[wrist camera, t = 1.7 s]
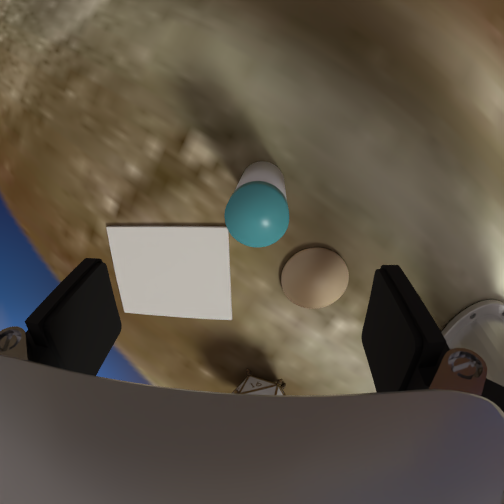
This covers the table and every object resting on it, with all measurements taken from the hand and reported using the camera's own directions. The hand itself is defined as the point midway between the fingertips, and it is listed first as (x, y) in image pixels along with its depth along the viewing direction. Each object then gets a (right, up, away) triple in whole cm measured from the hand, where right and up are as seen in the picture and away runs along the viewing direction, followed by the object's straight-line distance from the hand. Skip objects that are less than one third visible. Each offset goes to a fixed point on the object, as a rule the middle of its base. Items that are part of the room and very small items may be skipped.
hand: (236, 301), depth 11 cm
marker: (+1, +7, +16) cm, 18 cm away
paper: (-8, -1, +20) cm, 22 cm away
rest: (+6, -1, +19) cm, 20 cm away
